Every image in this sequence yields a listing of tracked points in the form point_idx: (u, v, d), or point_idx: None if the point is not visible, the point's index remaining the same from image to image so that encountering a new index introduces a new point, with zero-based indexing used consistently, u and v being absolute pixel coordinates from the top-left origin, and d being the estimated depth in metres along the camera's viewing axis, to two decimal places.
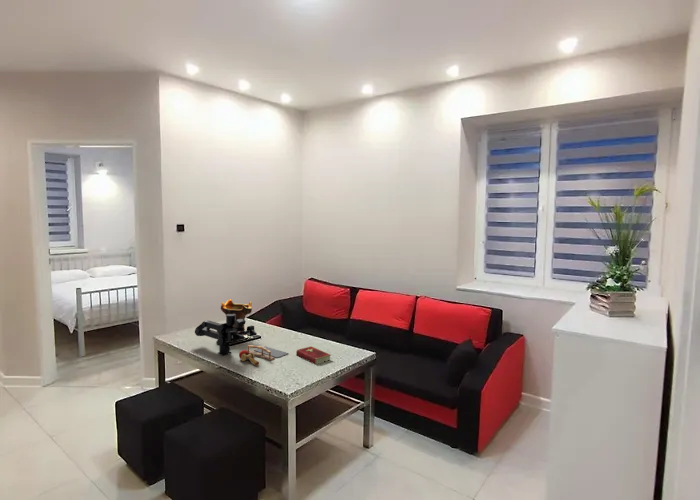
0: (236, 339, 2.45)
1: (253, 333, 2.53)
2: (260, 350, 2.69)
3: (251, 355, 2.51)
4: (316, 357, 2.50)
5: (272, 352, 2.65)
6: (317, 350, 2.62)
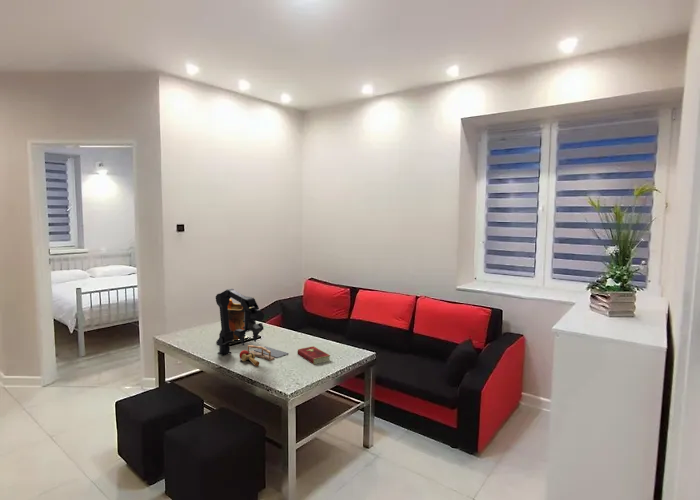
0: (239, 336, 2.44)
1: (254, 337, 2.52)
2: (260, 350, 2.69)
3: (251, 355, 2.50)
4: (315, 357, 2.50)
5: (272, 352, 2.65)
6: (318, 350, 2.62)
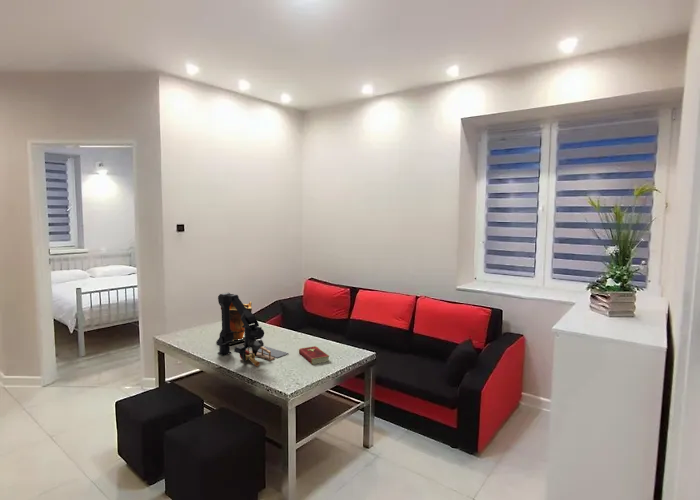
0: (240, 353, 2.45)
1: None
2: (260, 350, 2.69)
3: (252, 355, 2.50)
4: (313, 357, 2.49)
5: (272, 352, 2.65)
6: (318, 350, 2.62)
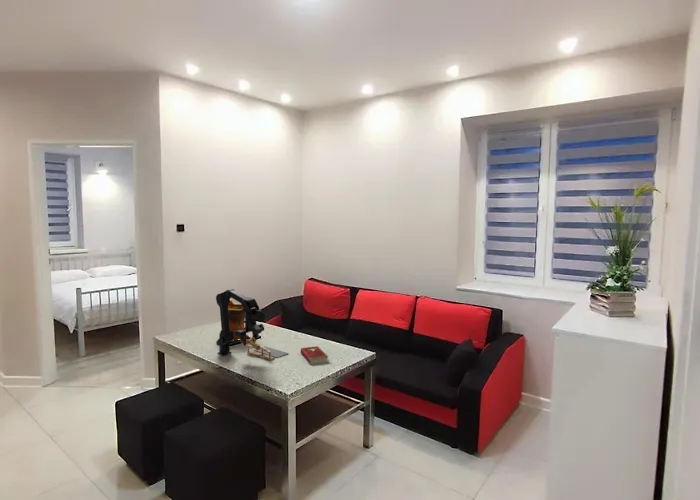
0: (240, 337, 2.45)
1: None
2: (260, 350, 2.69)
3: (252, 339, 2.49)
4: (312, 357, 2.50)
5: (272, 352, 2.65)
6: (319, 350, 2.62)
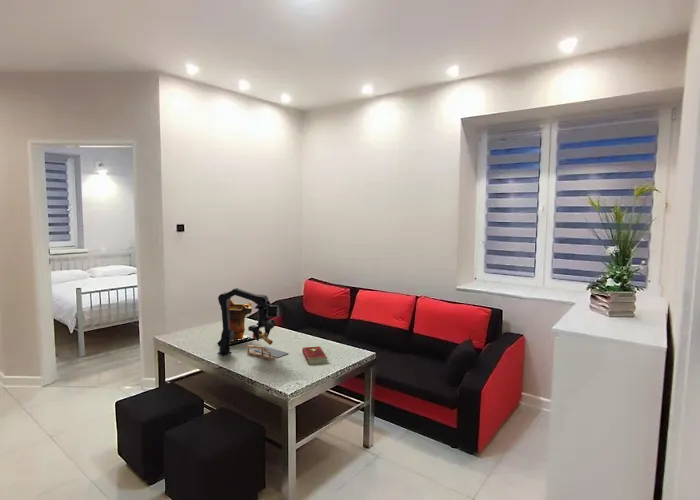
0: (253, 332, 2.56)
1: None
2: (260, 350, 2.69)
3: (265, 335, 2.60)
4: (310, 357, 2.50)
5: (272, 352, 2.65)
6: (320, 351, 2.61)
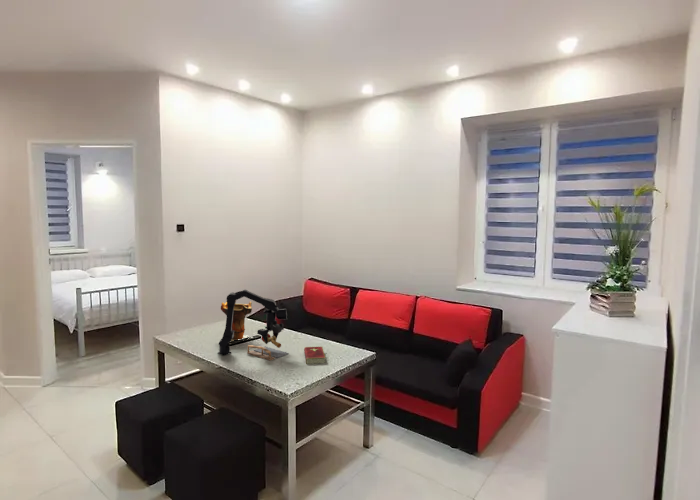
0: (262, 335, 2.62)
1: None
2: (260, 350, 2.69)
3: (273, 338, 2.67)
4: (309, 357, 2.50)
5: (272, 352, 2.65)
6: (320, 351, 2.61)
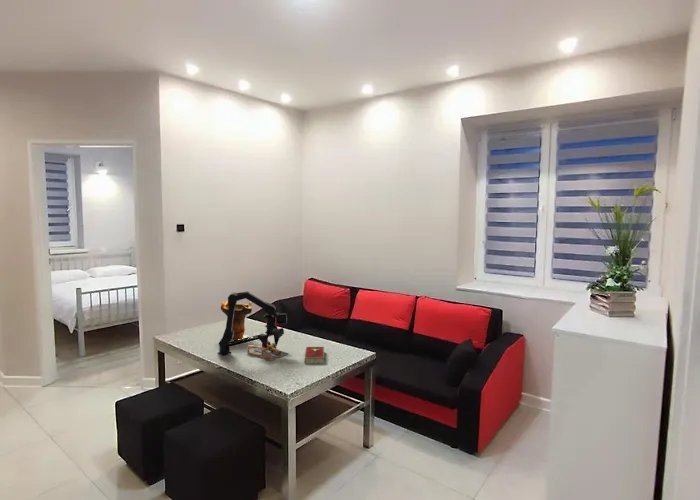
0: None
1: (276, 341, 2.70)
2: (260, 350, 2.69)
3: (273, 345, 2.68)
4: (308, 356, 2.50)
5: (272, 352, 2.65)
6: (321, 351, 2.61)
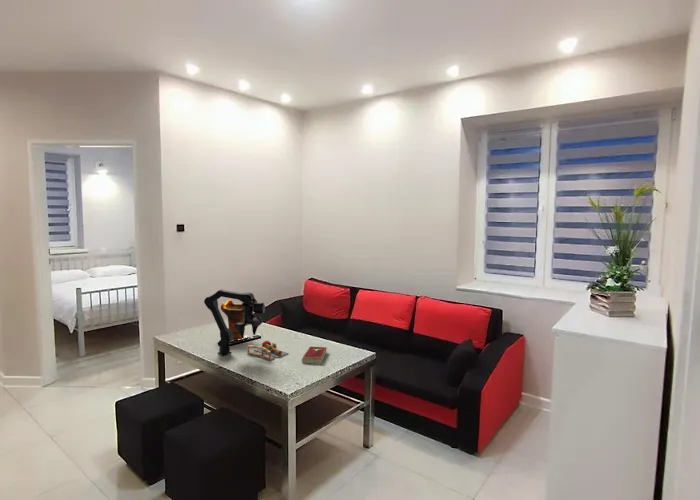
0: None
1: (254, 330, 2.64)
2: (260, 350, 2.69)
3: (273, 345, 2.67)
4: (306, 356, 2.51)
5: (272, 352, 2.65)
6: (321, 351, 2.60)
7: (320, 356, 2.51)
